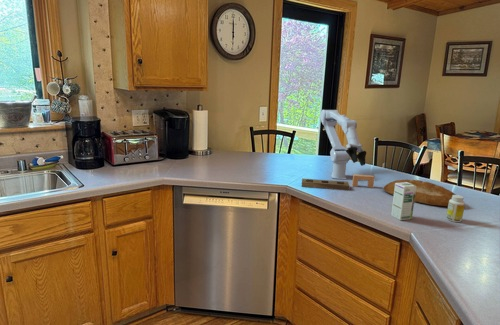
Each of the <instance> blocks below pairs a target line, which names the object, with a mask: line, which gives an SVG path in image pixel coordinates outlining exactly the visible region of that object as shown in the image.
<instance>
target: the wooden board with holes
mask: <svg viewBox="0 0 500 325" xmlns="http://www.w3.org/2000/svg"><path fill="white" fill-rule="evenodd" d="M301 187H302V188H313V189H325V190H326V189H327V190H340V191H350V184H349V181H344V180H329V179H327V180H326V179H315V178H302V179H301Z"/></svg>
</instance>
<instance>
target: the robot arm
mask: <svg viewBox="0 0 500 325" xmlns="http://www.w3.org/2000/svg"><path fill="white" fill-rule="evenodd" d="M319 116H320V118H319V119H320V122H321V123H322V125H323V126H324V129H325V132H326V134H327V137H328V139H329V142H330V144H331V145H330V146H331V147H332V148H331V150H330V152H329V154H330V160H331V161H332V162H333V164H332V172H331V173H330V175H331V179H335V180H336V179H338V180H347V176H346V171H347V164H348V163H349V162H350V160H351V161H352V163H353V164H355V163H357V162H359V164H360V166H361V167H363V166H365V165H366V155H367V151H366V150H364V149H363V144H361V142H360V139H359V136H358V135H359V134H358V132H357V129H358V128H357V127H358V123H357V121H356V120H355V119H350V118H349V117H348V116H346V114H340V113H339V110H337V109H322V110H321V111H320V114H319ZM336 125H339V126H340V127H341V130H342V131H343V133H344V134H345V137H346V140H347V144H346V145H345V146H344V145H342V143H341V140H340V138H339V136H338V133H337V131H336V128H335V126H336Z"/></svg>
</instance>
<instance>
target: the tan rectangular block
mask: <svg viewBox="0 0 500 325" xmlns="http://www.w3.org/2000/svg"><path fill="white" fill-rule="evenodd" d="M352 175H353V176H352V183H351V186H352V187H355V188H357V187H358V185H359V180H361V181H367V188H370V189H374V183H375V176H374V175H369V174H352Z"/></svg>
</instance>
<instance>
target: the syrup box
mask: <svg viewBox="0 0 500 325" xmlns="http://www.w3.org/2000/svg"><path fill="white" fill-rule="evenodd" d="M415 193H416V186H415V185H414V184H411V183H408V182H404V183H395V189H394V195H393V198H392V204H391V205H392V206H391V215H390V216H392V217H394V218H395V219H397V220H398V221H407V220H412V219H413V213H414V206H415V202H414V200H415Z"/></svg>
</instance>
